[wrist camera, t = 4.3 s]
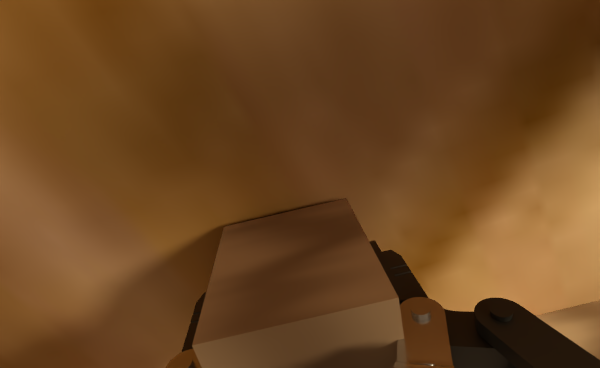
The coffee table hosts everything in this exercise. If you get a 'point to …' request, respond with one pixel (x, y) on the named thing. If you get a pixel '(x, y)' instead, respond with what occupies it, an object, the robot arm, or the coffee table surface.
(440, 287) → the coffee table surface
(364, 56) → the coffee table surface
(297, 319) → the walnut block
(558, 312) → the block
